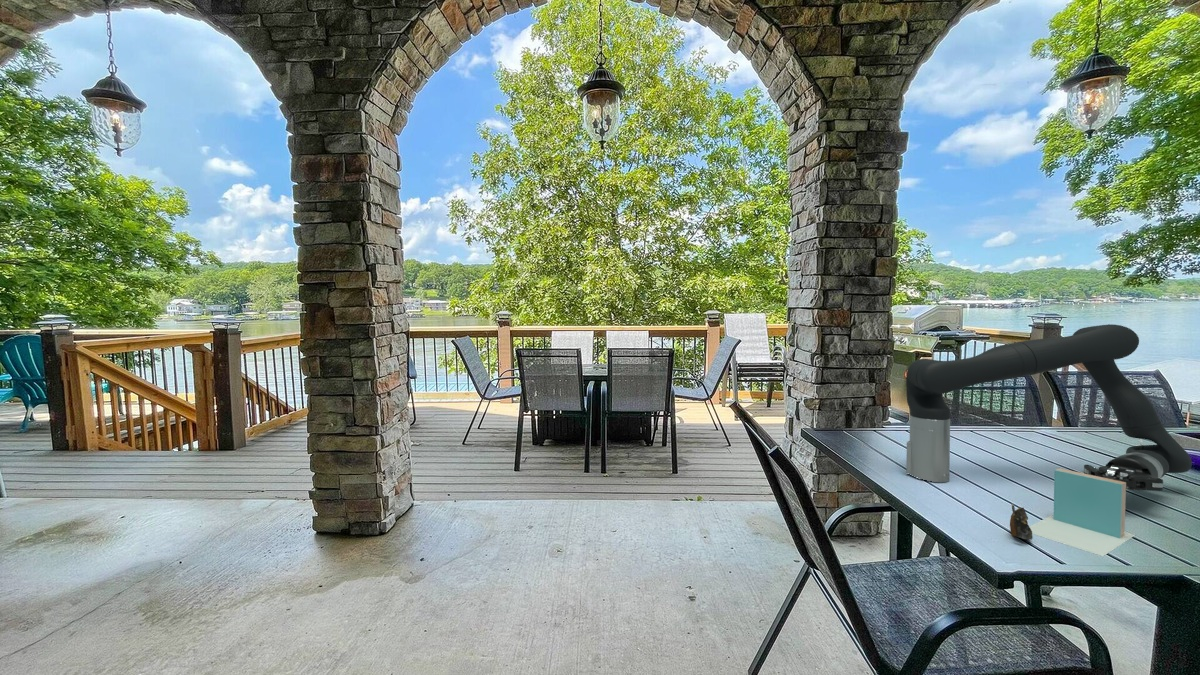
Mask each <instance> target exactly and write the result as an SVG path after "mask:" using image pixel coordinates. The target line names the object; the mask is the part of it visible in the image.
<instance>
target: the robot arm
mask: <svg viewBox="0 0 1200 675" xmlns="http://www.w3.org/2000/svg"><path fill="white" fill-rule="evenodd" d="M1139 344H1140V338H1139V336H1138V334H1137V333H1136V332H1135V331H1134V330H1132V329H1131V328H1130V327H1127V326H1124V325H1121V324H1110V323H1109V324H1101V325H1094V326H1093V325H1092V326H1087V327H1081V328H1079V329H1078V330H1076V331H1074V333H1073V334H1072V335H1068V336H1062V337H1061V336H1060V337H1059V336H1058V337H1049V338H1048V337H1047V338H1038V339H1029V340H1023V341H1022V340H1021V341H1016V342H1011V343H1007V344H1006V343H1005V344H1002V345H997V346H995V347H992V348H989V349H987V350H985V351H984V352H981V353H979V354H977V355H975V356H972V357H967V358H961V359H952V360H937V359H936V360H935V359H930V358H919V359H916V360H914V361H913V362H911V363H910V365H909V366H908V367H907V368H908V369H907V370H906V375H905V377H906V378H905V382H906V384H905V388H906V403H907V406H908V408H909V440H908V441H906V469H905V470H906V473H909V474H911V475H913V476H915V477H918V478H920V479H923V480H922V481H924V480H927V481H926V482H930V481H932V483H945V482H949V481H950V474H951V473H950V468H951V467H950V466H951V465H950V462H951V461H950V459H951V458H950V457H951V452H950V451H951V449H950V448H951V408H950V407H949V406H948V405H947V404H946V402H945V399H944V397H943V394H947V393H952V392H954V391H957V390H958V391H959V390H961V389H965V388H968V387H971V386H975V385H980V384H985V383H992V382H999V381H1005V380H1013V379H1017V378H1022V377H1023V378H1024V377H1027V376H1033V375H1037V374H1041V373H1046V372H1049V371H1054V370H1058V369H1062V368H1066V367H1069V366H1074V365H1077V364H1082V365H1083V367H1084V368H1085V369H1086V371H1087V372H1088V374H1090V376H1091V378H1092V379H1093V380H1094V382H1095V383H1096V385H1097V386H1098V387H1099V389H1100V390H1101V392H1102V394H1103V396H1105V397H1106V400H1107V401H1108V403H1109V405H1110V408H1111V409H1112V411H1113V413H1114V416H1115V417H1116V419H1117V421H1118V423H1119V425H1120V427H1121V430H1122V431H1123V433H1124V435H1125V436H1127V437H1129V438H1132V439H1138V440H1139V439H1142V440H1148V441H1151V442H1153V443H1154V444H1142V445H1139V444H1138V445H1139V446H1135V445H1132V446H1129V447H1127V448H1126V449H1125V450H1126V451H1125V453H1124V454H1121V455H1119V456H1117V457H1115V458H1112V459H1111V460H1109V461H1108V462H1107V463H1106V465H1103V466H1099V467H1098V468H1097V467H1096V466H1092V465H1090V464H1083V473H1084V474H1089V475H1093V476H1098V477H1103V478H1108V479H1112V480H1117V481H1122V482H1126V490H1129V491H1153V492H1162V491H1163V489H1164V488H1163V487H1164V479H1162V478H1163V477H1164V476H1166V475H1167V474H1183V473H1187V472H1189V471H1190V470H1191V469H1192V466H1193V463H1192V462H1193V461H1192V457H1191V456H1190V454H1189V453H1188V452H1187V451H1186V449H1184V447H1183V446H1182V445H1180V444H1179V442H1178V441H1176V439H1174V437H1172V435H1171V434H1170V433H1169V432H1168V430H1167V429H1166V428H1165V427H1164V425H1163V424H1162V422H1161V419H1160V417H1159V415H1158V413H1157V411H1156V409H1155V407H1154V405H1153V404H1152V403H1151V401H1150V400H1149V398H1148V397H1147V396H1146V395H1145V394H1144V393H1143V392H1142V391H1141V390H1140V389H1139V388H1137V387H1136V386H1135V385H1134V384H1133V383H1132V382H1131V381H1130V380H1129V379H1128V378H1127V377H1126V376H1125V375H1124V374H1123V372H1121V370H1120V369H1119V367H1118V366H1117V363H1116V361H1115V360H1121V359H1124V358H1126V357H1128V356H1130V355H1132V354H1133V353H1135V351H1136V350H1137V348H1138V347H1139V346H1140V345H1139ZM906 473H905V474H906ZM920 479H919V480H920Z"/></svg>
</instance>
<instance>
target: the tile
mask: <svg viewBox="0 0 1200 675" xmlns="http://www.w3.org/2000/svg"><path fill="white" fill-rule="evenodd" d="M1053 479H1054V480H1053V481H1054V483H1053V485H1054V487H1053V514H1052V515H1053V519H1054V520H1057V521H1061V522H1064V523H1068V524H1071V525H1075V526H1078V527H1081V528H1085V529H1088V530H1092V531H1095V532H1099V533H1102V534H1106V535H1109V536H1113V537H1116V538H1121V537H1123V536H1124V533H1125V532H1126V530H1125V529H1126V526H1125V525H1126V524H1125V523H1126V500H1127V499H1126V497H1127V489H1126V482H1122V481H1117V480H1112V479H1108V478H1103V477H1098V476H1093V475H1089V474H1084V472H1079V471H1073V470H1069V469H1064V468H1060V467H1059V468H1056V469H1054V478H1053Z"/></svg>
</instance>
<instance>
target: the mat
mask: <svg viewBox="0 0 1200 675" xmlns="http://www.w3.org/2000/svg"><path fill="white" fill-rule="evenodd" d="M1053 515H1054V514H1051V515H1050V516H1047V517H1046V518H1043V519H1042V520H1039V521H1037V522H1036V523H1033V524H1032V525H1029V527H1030V529H1031V531H1032V535H1034V536H1037V537H1040V538H1044V539H1047V540H1050V541H1054V542H1057V543H1060V544H1064V545H1066V546H1069V547H1071V548H1075V549H1078V550H1082V551H1085V552H1088V553H1090V554H1091V553H1092V554H1095V555H1097V556H1100V557H1105V556H1107V554H1109V553H1111V552H1112V551H1113V550H1115V549H1117V548H1118V547H1120V546H1122V545H1123V544H1125V543H1126V542H1127V541H1129V540H1131V538H1134V537H1136V534H1133V533H1131V532H1130V533H1129V532H1126V531H1125V533H1124V536H1123V537H1121V538H1116V537H1113V536H1109V535H1106V534H1102V533H1099V532H1095V531H1092V530H1088V529H1085V528H1081V527H1078V526H1075V525H1071V524H1068V523H1064V522H1061V521H1057V520H1054V519H1053Z"/></svg>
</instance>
